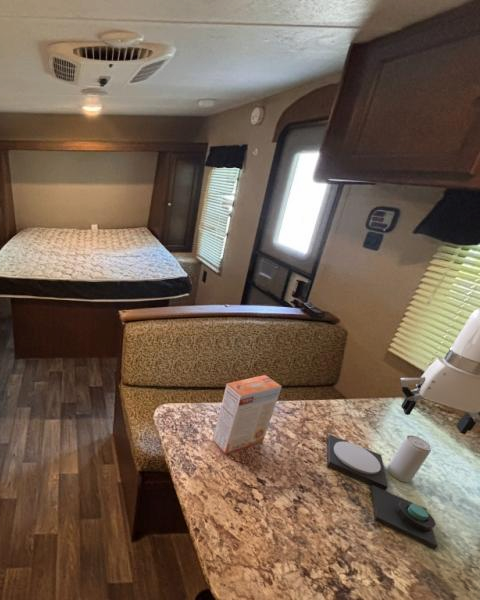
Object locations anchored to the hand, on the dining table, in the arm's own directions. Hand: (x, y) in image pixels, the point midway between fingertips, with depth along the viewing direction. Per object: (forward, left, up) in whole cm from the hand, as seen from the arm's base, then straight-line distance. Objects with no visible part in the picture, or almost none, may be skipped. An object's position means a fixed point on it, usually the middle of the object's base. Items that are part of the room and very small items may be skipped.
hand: (432, 420), depth 77 cm
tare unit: (+2, +15, -19) cm, 24 cm away
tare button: (0, +15, -16) cm, 22 cm away
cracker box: (+38, +15, -19) cm, 45 cm away
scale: (+10, +3, -19) cm, 22 cm away
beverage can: (0, 0, -19) cm, 19 cm away
